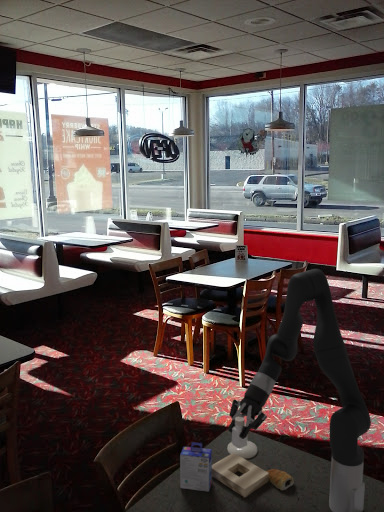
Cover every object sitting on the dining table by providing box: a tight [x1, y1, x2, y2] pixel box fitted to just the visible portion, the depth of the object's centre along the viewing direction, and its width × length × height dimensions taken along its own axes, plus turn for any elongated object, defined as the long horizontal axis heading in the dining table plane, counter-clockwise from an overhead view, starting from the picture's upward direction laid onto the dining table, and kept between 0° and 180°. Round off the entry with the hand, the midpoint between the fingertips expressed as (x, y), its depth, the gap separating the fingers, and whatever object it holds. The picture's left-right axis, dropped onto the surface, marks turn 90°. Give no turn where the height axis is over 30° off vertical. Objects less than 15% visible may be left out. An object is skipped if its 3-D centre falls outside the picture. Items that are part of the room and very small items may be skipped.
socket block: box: [212, 453, 270, 498], centre depth 167 cm, size 16×12×3 cm
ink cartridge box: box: [179, 441, 213, 492], centre depth 162 cm, size 10×6×14 cm, turn 78°
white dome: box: [226, 440, 258, 460], centre depth 183 cm, size 11×11×1 cm
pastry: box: [266, 468, 295, 492], centre depth 165 cm, size 9×7×4 cm
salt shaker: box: [231, 417, 249, 449], centre depth 164 cm, size 4×4×10 cm
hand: (235, 434), depth 162 cm, fingers closed on salt shaker, 4 cm apart
